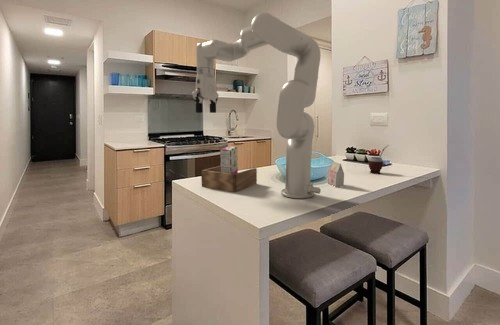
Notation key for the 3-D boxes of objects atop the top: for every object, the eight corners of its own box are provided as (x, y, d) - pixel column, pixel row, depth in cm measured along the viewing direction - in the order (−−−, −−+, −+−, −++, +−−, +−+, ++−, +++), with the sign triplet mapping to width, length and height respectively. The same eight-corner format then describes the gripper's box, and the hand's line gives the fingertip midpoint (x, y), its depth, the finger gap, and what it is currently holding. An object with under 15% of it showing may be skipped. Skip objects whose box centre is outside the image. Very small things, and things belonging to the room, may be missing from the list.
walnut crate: (256, 183, 136) (256, 168, 135) (235, 192, 122) (235, 174, 121) (225, 179, 145) (224, 164, 144) (201, 186, 131) (201, 170, 130)
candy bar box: (227, 182, 139) (227, 146, 137) (238, 182, 138) (237, 146, 136) (220, 188, 129) (219, 149, 126) (231, 188, 128) (231, 149, 125)
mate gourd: (364, 172, 162) (366, 144, 160) (375, 171, 166) (377, 143, 163) (376, 175, 156) (378, 145, 153) (387, 173, 159) (389, 144, 157)
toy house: (335, 183, 138) (336, 161, 136) (343, 186, 131) (344, 163, 130) (327, 183, 137) (328, 161, 135) (335, 187, 130) (336, 164, 129)
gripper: (199, 70, 125) (200, 112, 128) (223, 74, 140) (224, 112, 143) (185, 71, 129) (186, 112, 132) (210, 75, 144) (211, 112, 146)
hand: (206, 112), depth 137 cm, fingers open, 9 cm apart
